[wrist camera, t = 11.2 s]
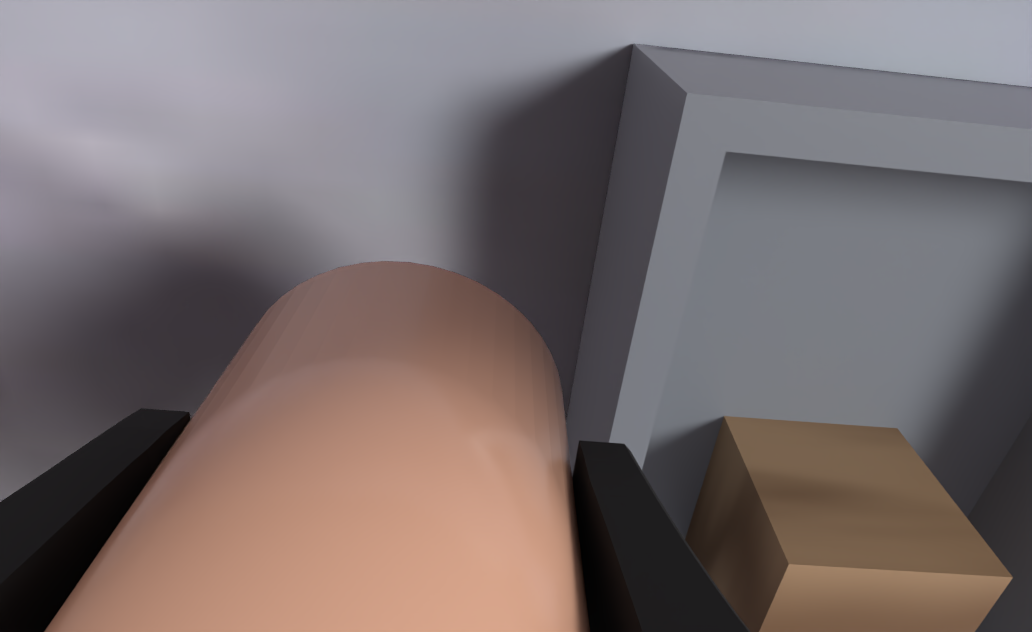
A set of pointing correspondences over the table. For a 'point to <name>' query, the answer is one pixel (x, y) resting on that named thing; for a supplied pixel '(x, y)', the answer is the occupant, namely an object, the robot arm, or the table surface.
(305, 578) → the peach rounded capsule
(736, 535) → the cube
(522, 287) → the table surface
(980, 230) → the tote
